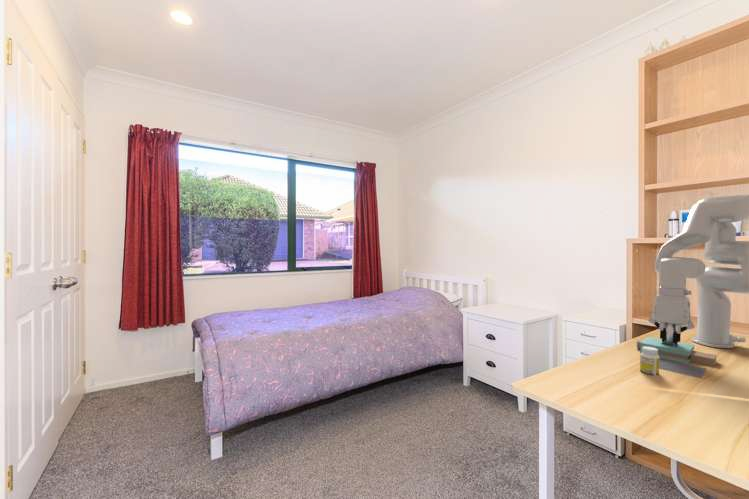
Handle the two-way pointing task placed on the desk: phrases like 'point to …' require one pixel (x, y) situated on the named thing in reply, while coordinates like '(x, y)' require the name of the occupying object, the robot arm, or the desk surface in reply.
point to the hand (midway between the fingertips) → (669, 341)
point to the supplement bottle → (649, 361)
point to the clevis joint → (678, 351)
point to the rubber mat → (681, 368)
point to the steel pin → (669, 334)
